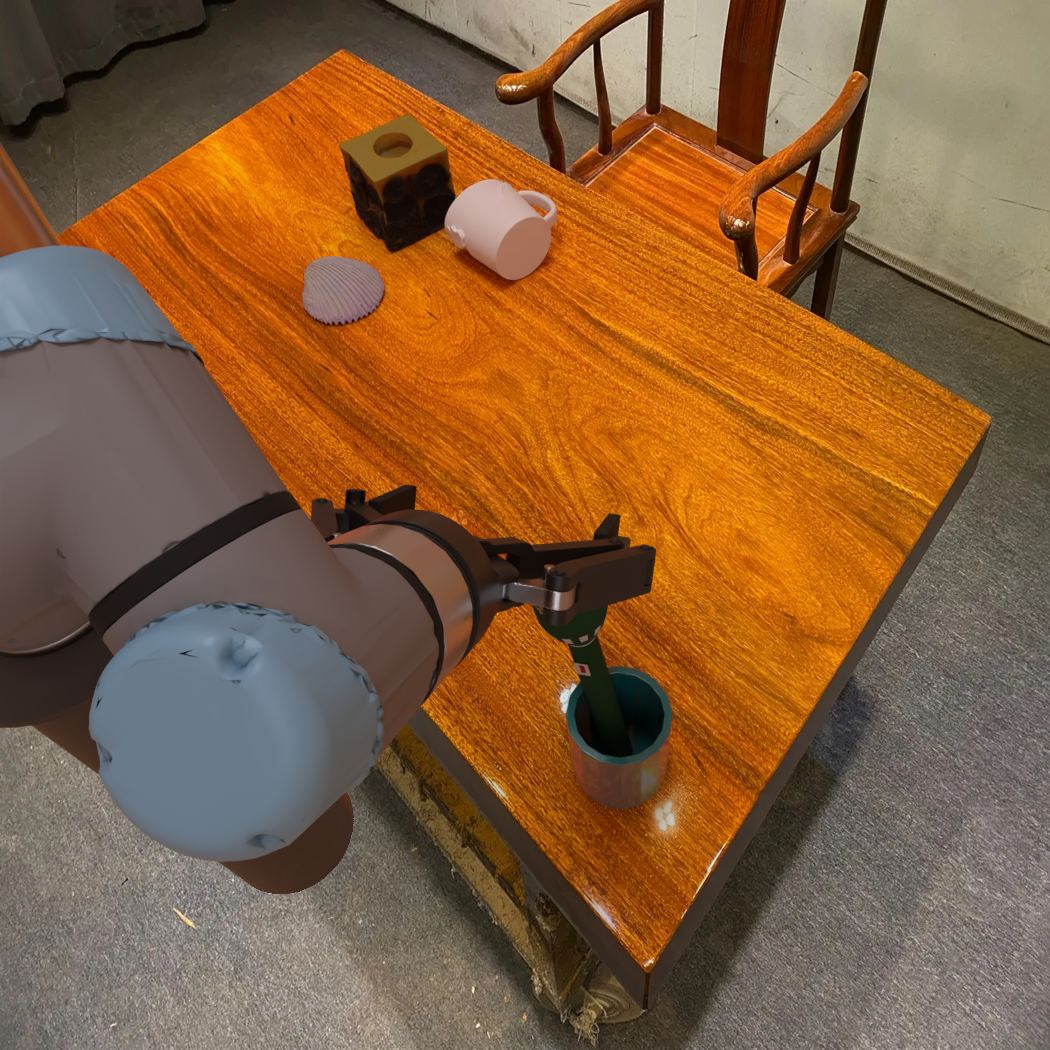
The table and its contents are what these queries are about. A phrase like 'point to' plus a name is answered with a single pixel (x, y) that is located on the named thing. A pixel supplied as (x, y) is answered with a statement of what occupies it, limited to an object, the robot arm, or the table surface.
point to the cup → (648, 734)
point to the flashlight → (594, 677)
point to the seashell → (341, 289)
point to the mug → (502, 227)
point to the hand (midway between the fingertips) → (509, 519)
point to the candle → (399, 181)
